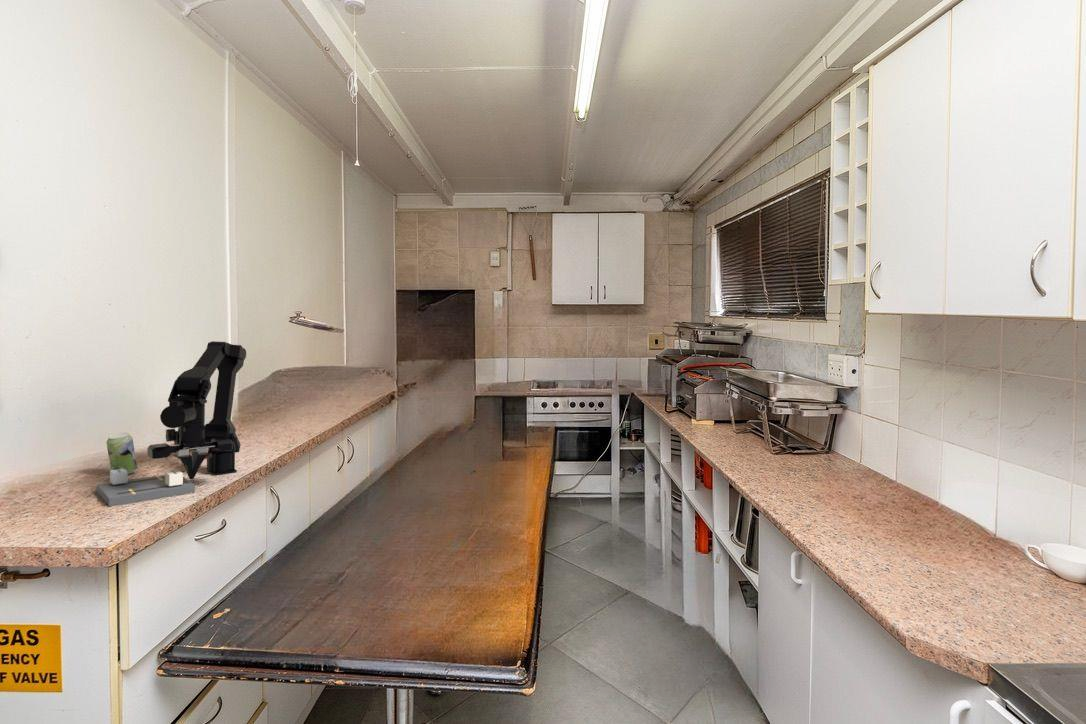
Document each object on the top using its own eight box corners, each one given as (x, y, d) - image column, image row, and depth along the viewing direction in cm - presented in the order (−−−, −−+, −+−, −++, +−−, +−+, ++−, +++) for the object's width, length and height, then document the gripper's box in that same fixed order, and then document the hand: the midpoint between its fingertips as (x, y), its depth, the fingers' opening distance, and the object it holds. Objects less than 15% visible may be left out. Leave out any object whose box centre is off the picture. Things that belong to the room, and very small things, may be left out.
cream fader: (178, 481, 145) (178, 469, 145) (182, 484, 142) (182, 472, 142) (165, 482, 143) (165, 471, 143) (169, 486, 140) (169, 474, 140)
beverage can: (142, 471, 161) (142, 432, 160) (120, 478, 154) (120, 436, 153) (123, 470, 162) (123, 430, 161) (100, 476, 154) (100, 435, 154)
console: (177, 479, 154) (177, 472, 154) (194, 492, 144) (194, 484, 144) (97, 491, 141) (97, 483, 141) (109, 506, 130) (109, 498, 130)
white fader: (124, 479, 144) (124, 468, 144) (127, 482, 142) (127, 471, 141) (109, 481, 142) (109, 469, 142) (113, 484, 139) (113, 472, 139)
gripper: (220, 415, 157) (219, 467, 158) (142, 420, 143) (141, 478, 144) (234, 420, 150) (233, 475, 150) (153, 426, 136) (152, 487, 136)
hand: (191, 479), depth 145 cm, fingers closed
